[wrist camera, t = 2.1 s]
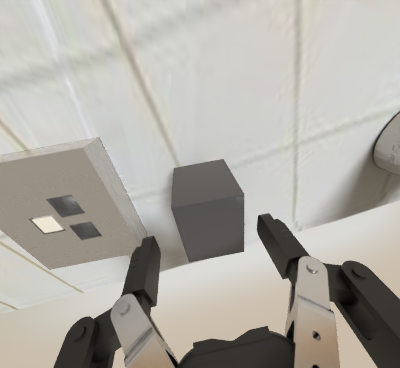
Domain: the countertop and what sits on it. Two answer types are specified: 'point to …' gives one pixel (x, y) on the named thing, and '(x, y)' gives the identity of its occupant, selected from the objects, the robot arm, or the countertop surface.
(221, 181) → the plug
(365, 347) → the robot arm
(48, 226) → the earth shutter
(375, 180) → the countertop surface
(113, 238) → the socket plate
